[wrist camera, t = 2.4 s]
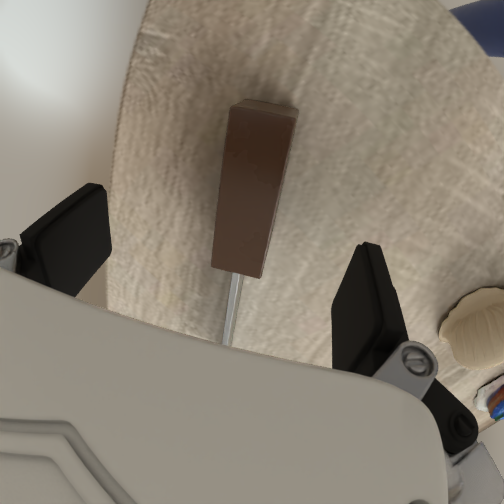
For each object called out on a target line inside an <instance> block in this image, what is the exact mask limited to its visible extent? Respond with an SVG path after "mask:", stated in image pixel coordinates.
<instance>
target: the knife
mask: <svg viewBox="0 0 504 504" xmlns="http://www.w3.org/2000/svg"><path fill="white" fill-rule="evenodd" d="M298 113H299V110H298V109H296V108H291V107H286V106H282V105H277V104H272V103H266V102H261V101H255V100H249V99H245V100H243V101H241V102H239V103H237V104H235V105H232V106H231V107H230V111H229V118H228V125H227V132H226V139H225V147H224V154H223V162H222V170H221V178H220V186H219V195H218V203H217V212H216V221H215V231H214V240H213V250H212V260H211V267H213V268H217V269H221V270H225V271H229V272H232V278H231V285H230V292H229V298H228V305H227V312H226V319H225V325H224V332H223V339H222V344H223V345H227V346H231V343H232V337H233V332H234V327H235V321H236V316H237V310H238V305H239V299H240V294H241V289H242V283H243V278H244V275H246V276H250V277H254V278H258V279H260V278H261V276H262V272H263V268H264V264H265V260H266V256H267V252H268V248H269V244H270V240H271V235H272V231H273V227H274V222H275V218H276V213H277V209H278V204H279V200H280V196H281V191H282V187H283V182H284V178H285V173H286V169H287V164H288V159H289V155H290V150H291V146H292V141H293V136H294V132H295V127H296V123H297V118H298Z"/></svg>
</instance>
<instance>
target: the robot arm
mask: <svg viewBox="0 0 504 504" xmlns="http://www.w3.org/2000/svg"><path fill="white" fill-rule="evenodd" d="M20 238H21V242H22V244H21V245H20V246H19V245H18V243H17V241H16V240H14V239H10V238H8V239H3V240H0V504H500V503H501V502H502V500H503V499H504V480H503V478H502V476H501V474H500V472H499V470H498V469H497V467H496V465H495V463H494V461H493V459H492V458H491V456H490V454H489V452H488V451H487V449H486V447H485V445H484V444H483V442H482V441H481V442H480V443H478V442H477V440H476V439H477V436H478V424H477V421H476V419H475V416H474V415H473V414H472V413H471V411H469V410H468V409H467V408H466V407H465V406H464V405H463V404H462V403H461V402H460V401H459V400H458V399H457V398H456V397H455V396H454V395H453V394H452V393H451V392H449V391H448V390H447V389H446V388H445V387H444V386H443V385H442V384H441V383H440V382H439V381H438V380H437V379H436V378H435V377H436V375H437V372H438V363H437V360H436V357H435V356H434V354H433V353H432V351H431V350H430V349H429V348H428V347H426V346H425V345H423V344H422V343H419V342H416V341H409V339H408V334H407V330H406V326H405V322H404V318H403V315H402V311H401V307H400V304H399V300H398V296H397V293H396V290H395V288H394V287H393V285H392V281H391V278H390V275H389V271H388V268H387V265H386V262H385V259H384V255H383V252H382V249H381V247H380V245H376V244H372V243H368V242H364V243H363V244H362V245H360V244H358V245H357V247H356V249H355V251H354V254H353V256H352V259H351V261H350V263H349V266H348V268H347V271H346V273H345V275H344V278H343V280H342V282H341V284H340V287H339V289H338V291H337V294H336V296H335V298H334V300H333V303H332V308H331V318H332V368H327V367H322V366H317V365H312V364H307V363H302V362H297V361H292V360H287V359H283V358H278V357H274V356H269V355H265V354H260V353H256V352H252V351H247V350H243V349H239V348H235V347H231V346H227V345H223V344H219V343H215V342H212V341H208V340H204V339H200V338H197V337H193V336H190V335H186V334H183V333H179V332H176V331H172V330H169V329H166V328H162V327H159V326H156V325H153V324H150V323H146V322H143V321H140V320H137V319H134V318H131V317H128V316H125V315H122V314H119V313H116V312H113V311H110V310H108V309H105V308H102V307H99V306H96V305H93V304H91V303H88V302H85V301H83V300H80V299H77V298H75V297H76V295H77V294H78V293H79V292H80V290H81V289H82V288H83V287H84V286H85V284H86V283H87V282H88V281H89V280H90V278H91V277H92V276H93V274H95V272H96V271H97V270H98V269H99V268H100V266H101V265H102V264H103V263H104V262H105V261H106V259H107V258H108V257H109V256H110V254H111V251H112V244H111V235H110V226H109V216H108V204H107V192H106V190H105V189H104V188H103V186H102V185H100V184H94V183H87V184H86V185H84V186H83V187H81V188H80V189H79V190H77V191H76V192H74V193H73V194H72V195H70V196H69V197H67V198H66V199H64V200H63V201H62V202H60V203H59V204H58V205H56V206H55V207H54V208H52V209H51V210H50V211H48V212H47V213H46V214H44V215H43V216H42V217H41V218H39V219H38V220H37V221H36V222H34V223H33V224H32V225H31V226H29V227H28V228H27V229H26V230H25V231H23V232H22V233H21V234H20Z"/></svg>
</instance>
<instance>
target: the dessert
mask: <svg viewBox="0 0 504 504" xmlns="http://www.w3.org/2000/svg"><path fill="white" fill-rule="evenodd" d="M474 405H475V407H476V408H477V409H478V410H482V411H486V412H489V413H490V417H491V418H493V419H495V421H498V420H501V419H504V375H503V376H501V377H499V378H498V379H497V380H494V381H493V382H492V383H490V384H488V385H486V386H484V387H482V388H480V389H479V390H478V396H477V397H476V398H475V399H474Z"/></svg>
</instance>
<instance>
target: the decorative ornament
mask: <svg viewBox="0 0 504 504" xmlns="http://www.w3.org/2000/svg"><path fill="white" fill-rule="evenodd" d="M439 339H440V341H441V342H446V343H449V344H450V346H451V348H452V351H453V354H454V358H455V359H456V361H457V362H458V363H459V364H461V365H462V366H464V367H465V368H468V369H471V370H483V369H488V368H491V367H494V366H497V365H499V364H501V363H503V362H504V289H499V288H497V287H493V288H480V289H478V290H477V291H475V292H473V293H471V294H468V295H467V296H465V297H464V298H462V299H461V301H460V302H459V304H458V305H457V307H456V308H454V309H453V310H451V311H450V313H449V316H448V317H447V318H446V319H445V320H444V321H443V322H442V324H441V328H440V330H439Z"/></svg>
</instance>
